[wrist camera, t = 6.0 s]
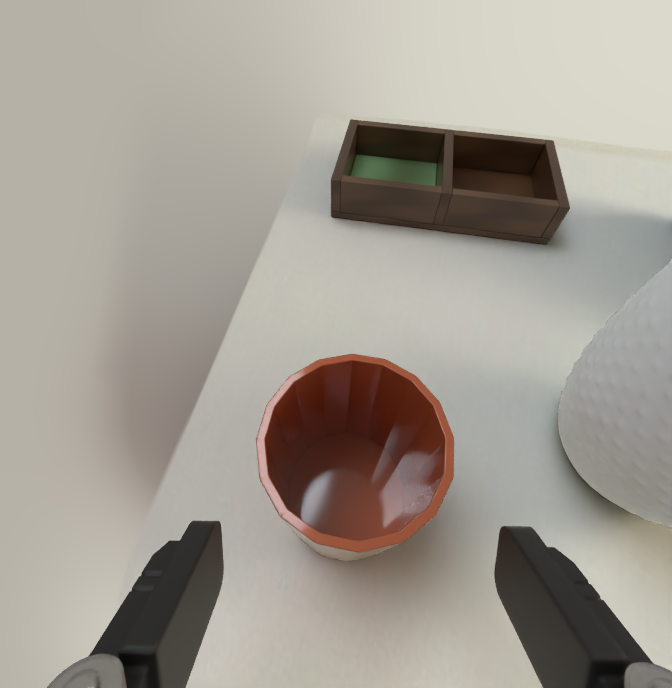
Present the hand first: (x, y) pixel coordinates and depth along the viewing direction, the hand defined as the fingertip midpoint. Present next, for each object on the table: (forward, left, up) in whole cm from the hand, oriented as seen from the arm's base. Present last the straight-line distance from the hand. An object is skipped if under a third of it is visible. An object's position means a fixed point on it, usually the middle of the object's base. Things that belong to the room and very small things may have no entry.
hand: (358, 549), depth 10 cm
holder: (+3, +30, -9) cm, 32 cm away
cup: (-1, +3, -9) cm, 10 cm away
